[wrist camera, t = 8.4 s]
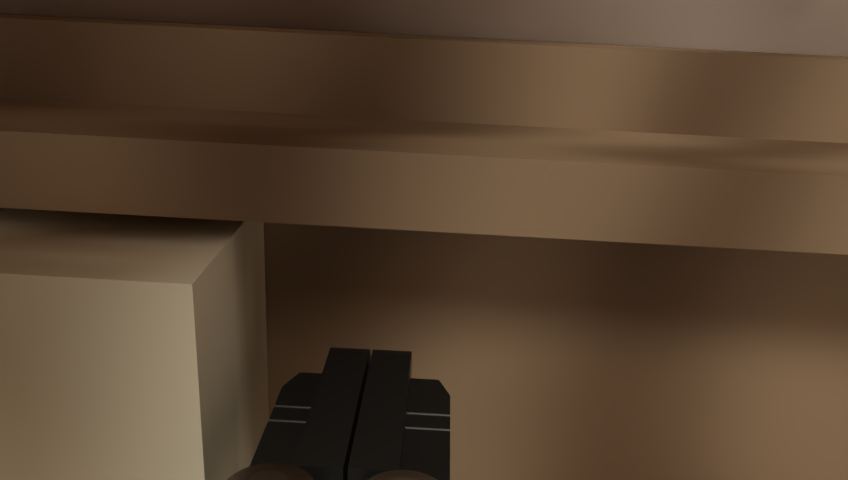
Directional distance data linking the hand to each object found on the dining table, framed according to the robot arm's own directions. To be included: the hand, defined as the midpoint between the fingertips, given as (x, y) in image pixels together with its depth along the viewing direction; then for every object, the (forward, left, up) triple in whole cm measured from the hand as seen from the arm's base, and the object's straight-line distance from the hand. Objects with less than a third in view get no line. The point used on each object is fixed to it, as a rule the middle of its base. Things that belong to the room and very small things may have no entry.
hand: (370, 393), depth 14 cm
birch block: (+5, 0, -1) cm, 5 cm away
